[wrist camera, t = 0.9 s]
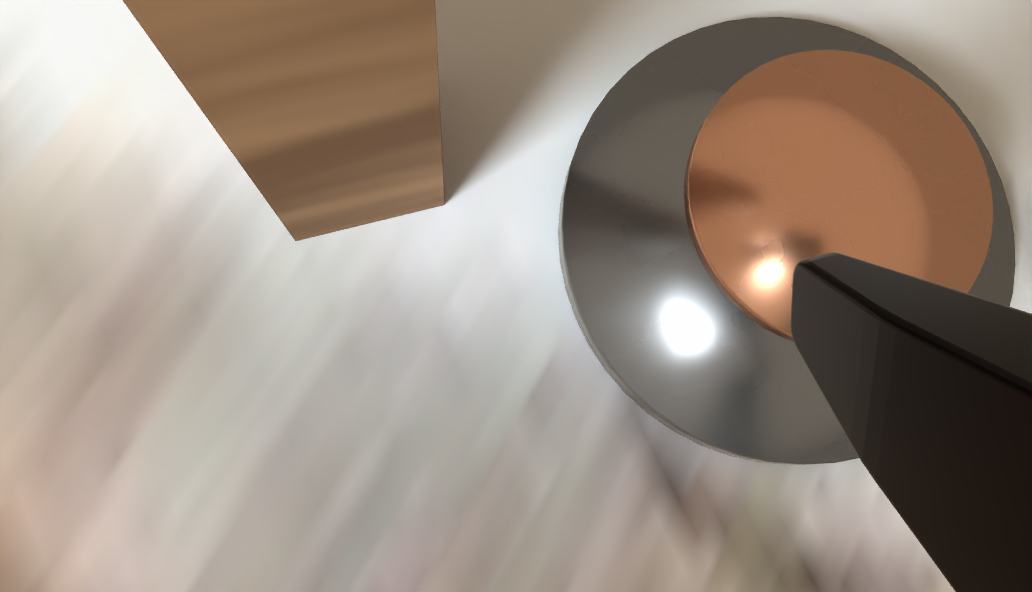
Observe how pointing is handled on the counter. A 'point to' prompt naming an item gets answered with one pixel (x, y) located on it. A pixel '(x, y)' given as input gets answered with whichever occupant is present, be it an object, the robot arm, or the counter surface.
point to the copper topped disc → (764, 219)
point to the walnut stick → (315, 100)
